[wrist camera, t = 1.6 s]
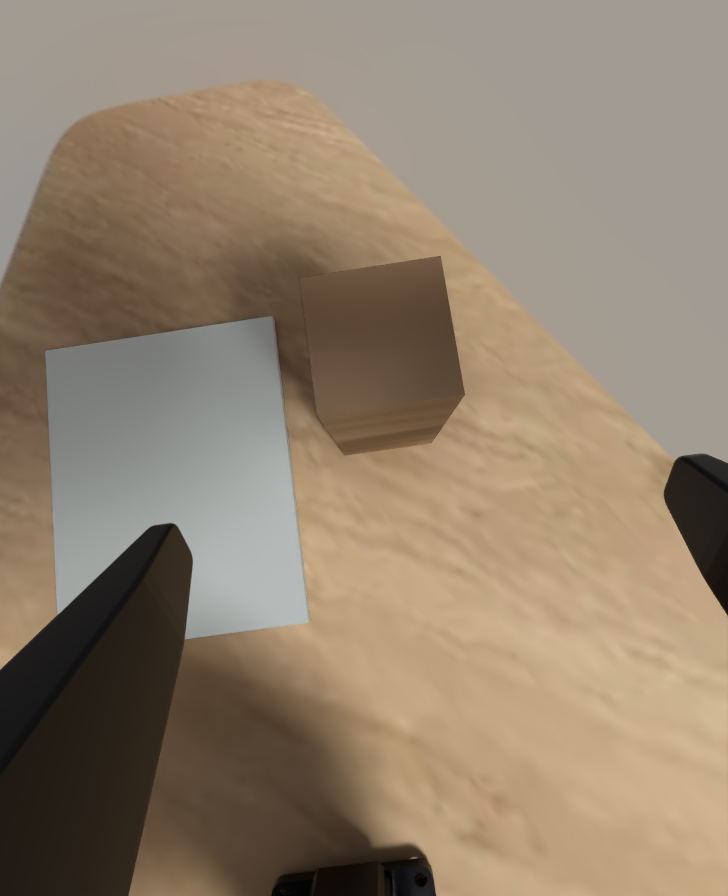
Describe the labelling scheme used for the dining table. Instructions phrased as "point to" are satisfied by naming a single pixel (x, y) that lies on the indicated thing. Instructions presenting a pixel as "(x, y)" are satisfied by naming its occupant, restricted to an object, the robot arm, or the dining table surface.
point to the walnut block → (382, 354)
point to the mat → (180, 467)
